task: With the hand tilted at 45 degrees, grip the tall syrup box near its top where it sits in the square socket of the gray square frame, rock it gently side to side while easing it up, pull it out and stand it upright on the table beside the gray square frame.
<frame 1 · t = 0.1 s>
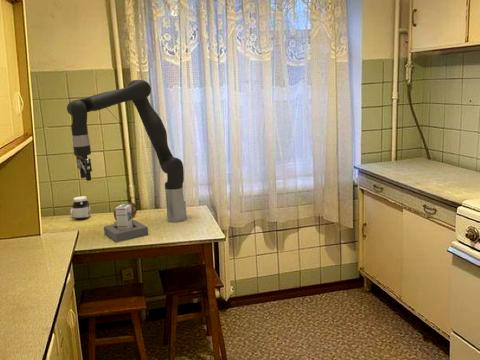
hand: (86, 179, 234), 29 cm above the table, tool pointing down, fingers open, 8 cm apart
tin: (125, 219, 270), on the table
syrup box: (126, 234, 244), resting in gray square frame
gray square frame: (126, 234, 244), on the table
spread jar: (80, 218, 277), on the table
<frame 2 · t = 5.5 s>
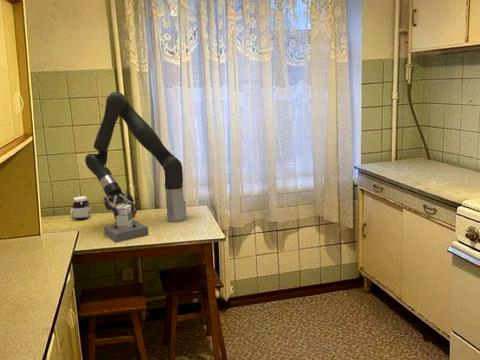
hand: (125, 212, 241), 11 cm above the table, tool tilted 45°, fingers closed on syrup box, 8 cm apart
syrup box: (126, 234, 244), resting in gray square frame, touching gripper
everything else where it was.
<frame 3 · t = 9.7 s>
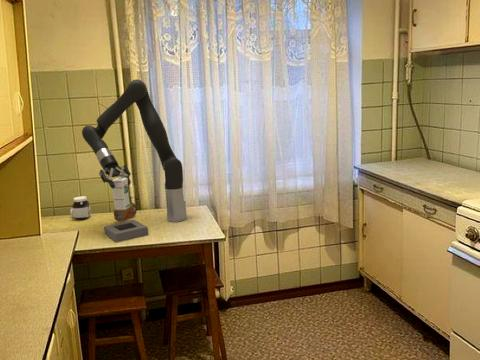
hand: (121, 185, 238), 24 cm above the table, tool tilted 45°, fingers closed on syrup box, 8 cm apart
syrup box: (122, 208, 241), point 13 cm above the table, touching gripper
everything else where it was.
when the fingers open (12 cm above the table, at t = 13.9 s): syrup box drops 1 cm, on the table.
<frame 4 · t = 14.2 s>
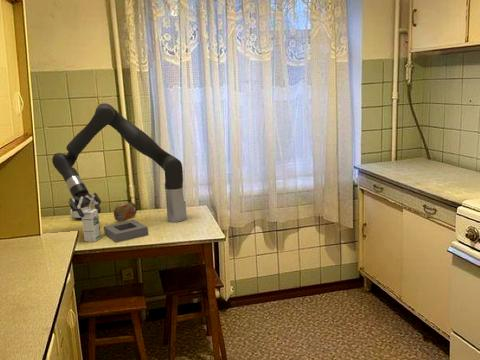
hand: (91, 214, 235), 13 cm above the table, tool tilted 45°, fingers open, 8 cm apart
syrup box: (92, 239, 239), on the table, touching gripper
everything else where it was.
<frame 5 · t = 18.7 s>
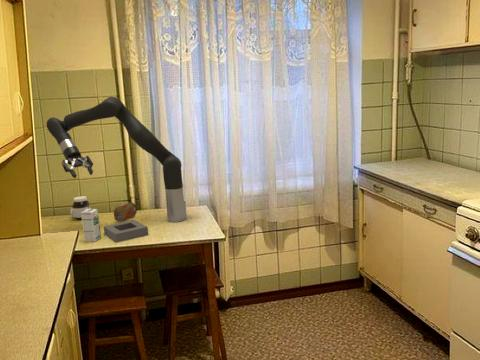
hand: (83, 175, 246), 29 cm above the table, tool tilted 45°, fingers open, 8 cm apart
syrup box: (92, 239, 239), on the table
everything else where it was.
at the end: syrup box inside the target area (0.2 cm from its centre), on the table; syrup box tilted 0°; the gripper is holding nothing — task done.
